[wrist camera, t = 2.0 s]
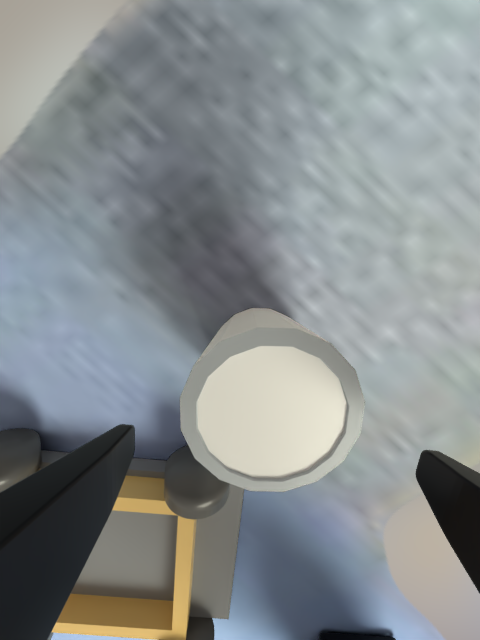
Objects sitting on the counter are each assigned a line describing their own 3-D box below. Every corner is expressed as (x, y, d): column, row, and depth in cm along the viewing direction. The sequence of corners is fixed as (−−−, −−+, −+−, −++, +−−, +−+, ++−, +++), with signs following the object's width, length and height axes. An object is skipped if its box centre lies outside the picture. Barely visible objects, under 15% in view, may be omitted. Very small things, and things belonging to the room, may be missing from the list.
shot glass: (297, 410, 17) (334, 509, 10) (194, 389, 17) (163, 478, 10) (327, 311, 16) (394, 350, 9) (215, 285, 15) (196, 307, 9)
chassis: (247, 447, 18) (249, 499, 14) (227, 616, 22) (224, 695, 18) (-21, 424, 18) (-96, 472, 14) (5, 600, 21) (-48, 677, 17)
